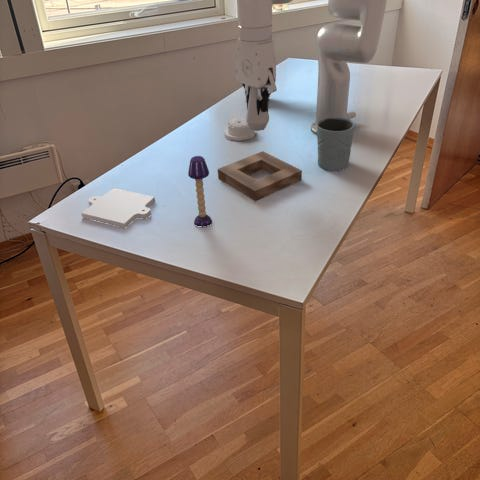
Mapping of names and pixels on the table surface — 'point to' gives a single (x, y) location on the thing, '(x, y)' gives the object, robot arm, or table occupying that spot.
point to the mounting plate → (119, 207)
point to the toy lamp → (199, 188)
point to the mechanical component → (238, 130)
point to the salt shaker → (255, 112)
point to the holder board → (261, 188)
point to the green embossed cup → (334, 143)
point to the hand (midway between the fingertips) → (257, 111)
